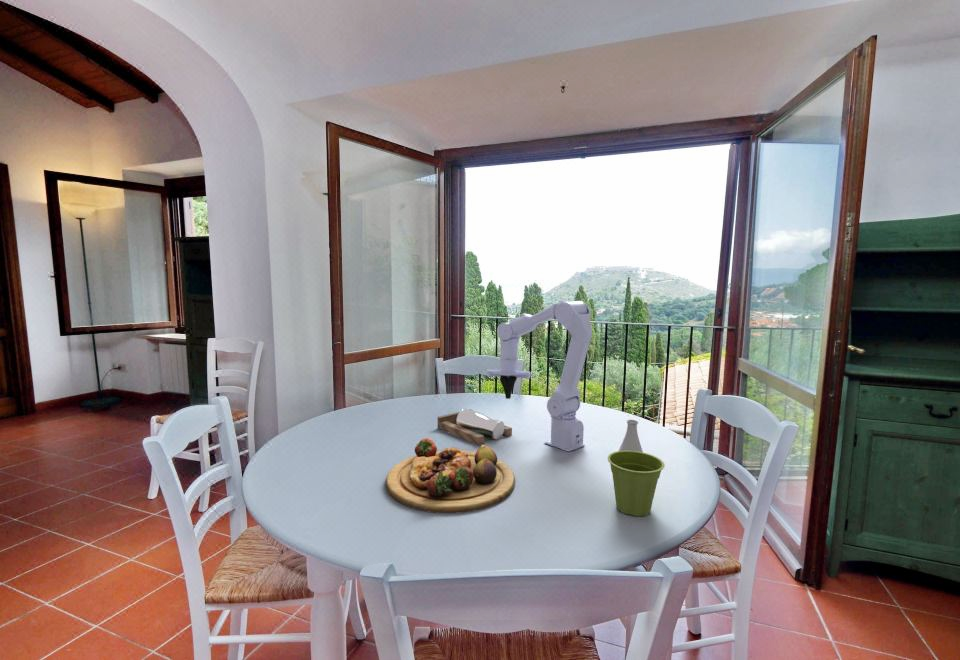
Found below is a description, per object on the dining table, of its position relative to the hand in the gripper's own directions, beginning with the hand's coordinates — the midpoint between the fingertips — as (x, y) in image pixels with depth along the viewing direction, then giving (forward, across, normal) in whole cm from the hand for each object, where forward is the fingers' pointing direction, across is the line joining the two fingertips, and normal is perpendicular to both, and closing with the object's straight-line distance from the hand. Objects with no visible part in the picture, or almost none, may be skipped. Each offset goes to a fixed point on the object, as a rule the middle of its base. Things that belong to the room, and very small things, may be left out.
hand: (508, 398), depth 157 cm
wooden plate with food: (+11, -6, -45) cm, 47 cm away
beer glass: (+7, 0, -12) cm, 14 cm away
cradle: (+10, -10, -7) cm, 16 cm away
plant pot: (+11, +37, -48) cm, 62 cm away
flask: (+11, +39, -14) cm, 43 cm away
